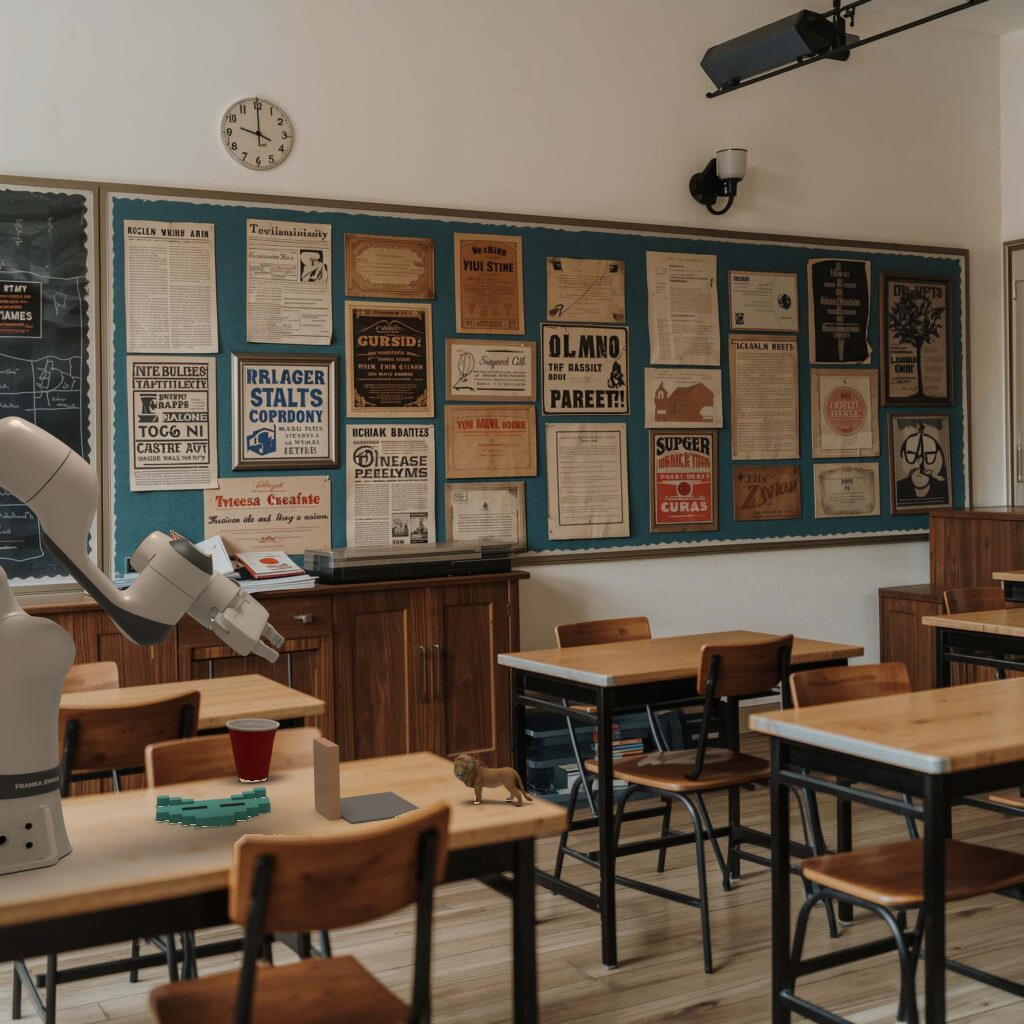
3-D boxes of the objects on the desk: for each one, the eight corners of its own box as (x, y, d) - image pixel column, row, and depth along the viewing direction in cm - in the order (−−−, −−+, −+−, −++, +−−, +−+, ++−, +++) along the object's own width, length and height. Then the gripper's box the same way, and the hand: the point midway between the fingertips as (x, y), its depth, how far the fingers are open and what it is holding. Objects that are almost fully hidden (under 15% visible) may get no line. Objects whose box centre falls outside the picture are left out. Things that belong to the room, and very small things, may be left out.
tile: (329, 820, 217) (327, 747, 217) (314, 809, 225) (313, 738, 225) (340, 818, 218) (339, 745, 218) (325, 808, 226) (323, 737, 226)
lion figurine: (451, 806, 225) (450, 757, 225) (456, 799, 230) (455, 751, 230) (531, 807, 223) (530, 757, 223) (534, 800, 229) (533, 751, 228)
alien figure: (157, 807, 231) (155, 834, 212) (157, 796, 231) (155, 822, 212) (265, 798, 237) (273, 824, 217) (265, 786, 237) (273, 811, 217)
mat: (351, 824, 214) (351, 822, 214) (320, 802, 230) (320, 800, 230) (425, 813, 220) (425, 811, 220) (391, 793, 237) (390, 791, 237)
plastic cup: (267, 787, 244) (266, 727, 244) (217, 785, 246) (216, 726, 246) (289, 775, 255) (288, 717, 254) (241, 773, 257) (239, 716, 257)
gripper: (218, 603, 202) (285, 654, 204) (235, 576, 222) (295, 623, 225) (194, 632, 203) (261, 682, 205) (213, 602, 223) (274, 649, 225)
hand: (279, 651), depth 215 cm, fingers open, 8 cm apart
